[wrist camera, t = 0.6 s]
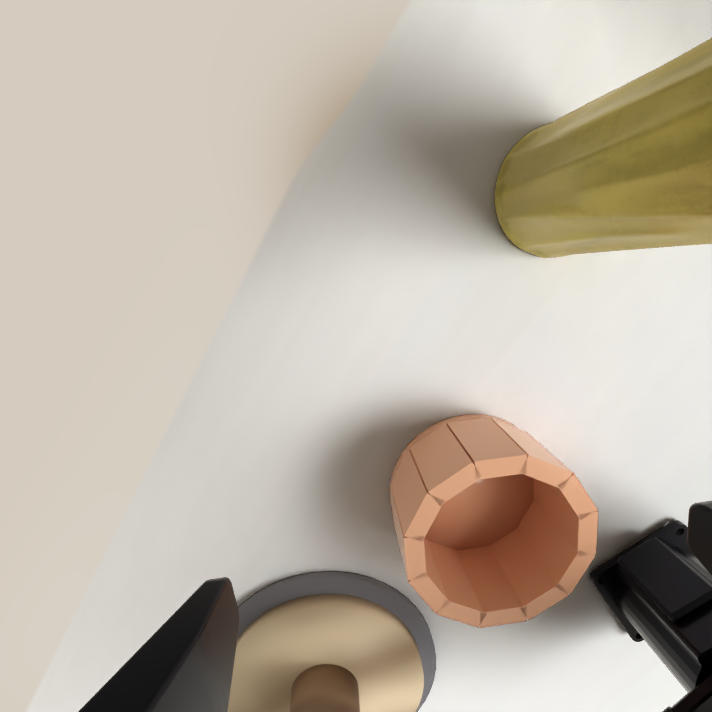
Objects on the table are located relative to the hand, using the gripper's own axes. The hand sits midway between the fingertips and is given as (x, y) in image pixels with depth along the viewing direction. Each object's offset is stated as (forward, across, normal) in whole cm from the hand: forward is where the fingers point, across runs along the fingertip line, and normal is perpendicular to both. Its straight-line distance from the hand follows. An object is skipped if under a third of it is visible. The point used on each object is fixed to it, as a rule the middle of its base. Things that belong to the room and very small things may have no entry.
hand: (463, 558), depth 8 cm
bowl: (+14, -4, +8) cm, 17 cm away
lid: (+13, +6, +19) cm, 24 cm away
